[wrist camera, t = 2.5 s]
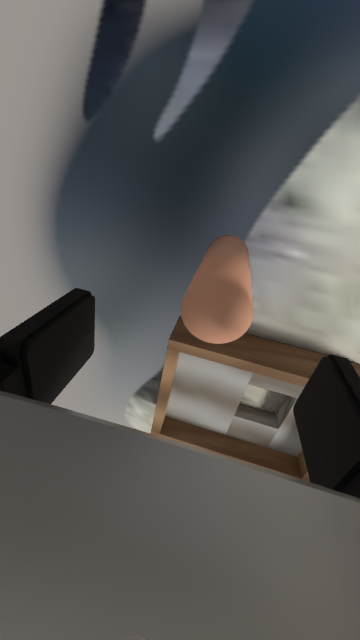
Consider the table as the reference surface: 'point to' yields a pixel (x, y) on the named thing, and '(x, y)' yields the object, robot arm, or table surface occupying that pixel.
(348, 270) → the table surface
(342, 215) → the table surface
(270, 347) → the wooden rectangular frame
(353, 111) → the table surface
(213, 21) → the table surface
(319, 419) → the robot arm
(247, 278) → the peg
